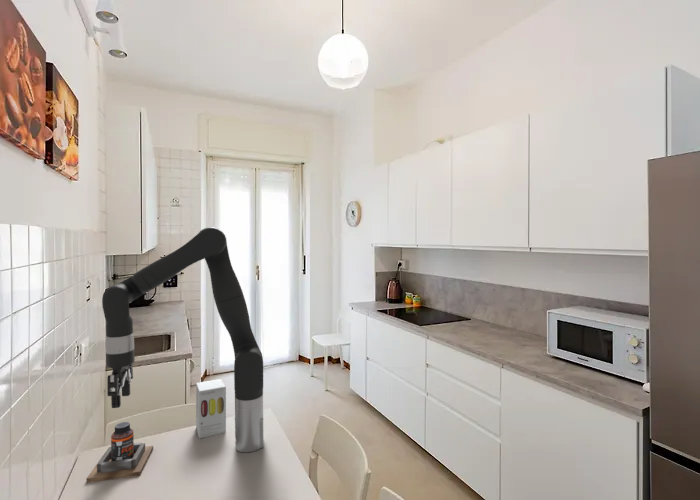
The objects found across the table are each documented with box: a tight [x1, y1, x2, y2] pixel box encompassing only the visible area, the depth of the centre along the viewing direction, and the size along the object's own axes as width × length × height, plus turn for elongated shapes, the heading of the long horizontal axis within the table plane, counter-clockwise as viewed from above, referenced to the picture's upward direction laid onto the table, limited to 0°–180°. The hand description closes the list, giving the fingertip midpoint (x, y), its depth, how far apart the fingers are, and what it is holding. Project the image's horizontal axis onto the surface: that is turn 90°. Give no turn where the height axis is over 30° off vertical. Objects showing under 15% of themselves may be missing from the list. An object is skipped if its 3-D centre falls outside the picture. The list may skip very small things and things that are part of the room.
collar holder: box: [86, 442, 154, 484], centre depth 115 cm, size 14×14×4 cm
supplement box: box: [195, 378, 227, 439], centre depth 136 cm, size 10×9×17 cm
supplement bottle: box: [110, 421, 135, 461], centre depth 115 cm, size 6×6×11 cm
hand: (121, 401), depth 114 cm, fingers open, 8 cm apart
